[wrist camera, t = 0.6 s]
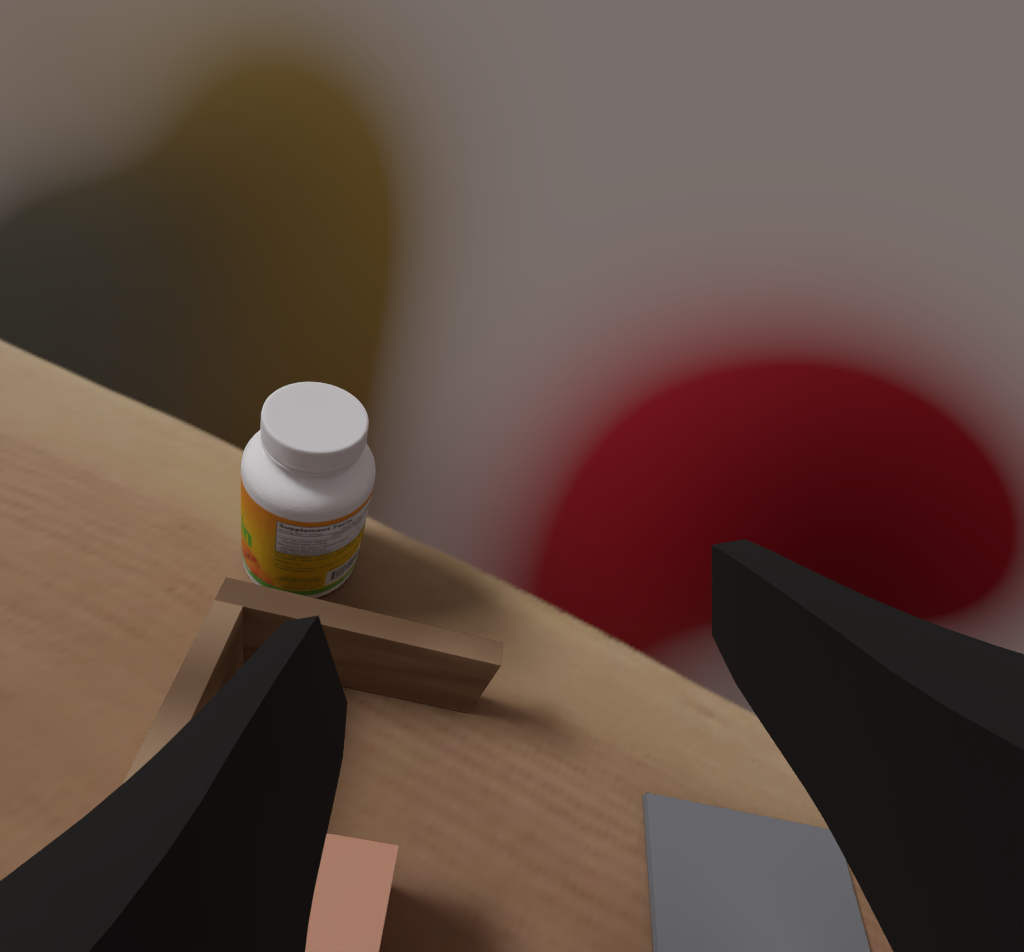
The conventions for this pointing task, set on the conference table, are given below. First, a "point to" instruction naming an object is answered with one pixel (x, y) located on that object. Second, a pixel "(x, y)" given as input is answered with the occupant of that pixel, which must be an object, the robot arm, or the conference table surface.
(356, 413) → the supplement bottle
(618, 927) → the conference table surface
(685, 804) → the felt mat
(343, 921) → the terracotta block
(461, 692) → the walnut u-shaped open frame
